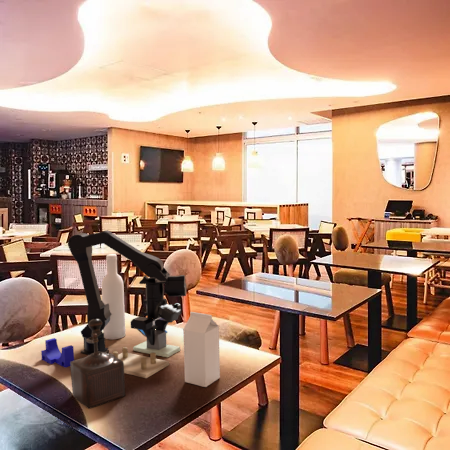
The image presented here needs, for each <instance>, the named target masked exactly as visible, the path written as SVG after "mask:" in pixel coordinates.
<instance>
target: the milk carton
mask: <svg viewBox="0 0 450 450" xmlns="http://www.w3.org/2000/svg"><path fill="white" fill-rule="evenodd" d="M182 329H183V334H182V335H183V358H184V359H183V360H184V361H183V365H184V367H183V369H184V382H185V383H188V384H192V385H195V386H199V387H203V388H207V387H208V386H210V385H211V384H213V383H215V382H216V381H218V379H220V378H221V369H220V368H221V366H220V359H221V358H220V326H219V325H218V324H217V322H215V320H213V315H212V314H207V313H201V312H195V311H190V316H189V318H188V320H187V322H186V323H185V324H184V327H183V328H182Z"/></svg>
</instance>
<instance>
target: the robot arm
mask: <svg viewBox="0 0 450 450" xmlns="http://www.w3.org/2000/svg"><path fill="white" fill-rule="evenodd" d="M102 244H103V245H105V246H107V247H108V248H109V249H111V250H113V251H114V252H116V253H118V254H119V255H121V256H123V257H124V258H126V259H127V260H129V261H130V262H132V263H133V264H135V266H136V267H137V268H138V269H139V270H140V271H141V272H142V273H143V274H145V275H144V276H143V277H142V279H141V280H139V282H138V283H139V284H140V285H145V298H146V299H143V304H144V305H145V306H146V311H144V312H143V316H138V317H135V318H133V319H131V320H130V329H135V330H138V329H139V330H143V332H144V333H145V335H146V336H145V335H144V336H145V337H146V340H147V339H148V340H149V342H150V344H151V345H154V341H155V329H156V330H160V331H165V330H166V328H167V326H168V325H169V323H170V324H171V323H174V322H175V321H177V320H178V318H179V316H180V315H181V314H182V306H181V304H180V303H178V302H176V303H174V304H168V299H167V298H165V297H164V294H166V295H167V296H168V297H187V283H186V275H185V274H180V275H171V274H170V273H169V271H167V270H166V267H164V262H163V260H162V259H161V258H159V257H158V256H155V255H152V254H148V253H145V252H143V251H141V250H139V249H138V248H136V247H134V246H133V245H131V244H129V242H127V241H125V240H123V239H122V238H120V237H118V236H117V235H115V234H114V233H112V232H111V230H108V229H107V230H103V231H101V232H96V233H95V232H94V233H91V234H90V233H89V234H88V233H85V232H80V233H77V234H73V235H72V236H71V237H70V238H69V239H68V241H67V247H68V249H69V251H70V253H71V255H72V257H73V259H74V260H75V261H76V263H77V265H78V269H79V274H80V279H81V283H82V286H83V290H84V295H85V298H86V303H87V310H86V311H87V312H86V313H87V314H86V321H87V322H86V323H87V324H86V326H85V327H84V328H82V329H81V330H80V334H81V336H82V338H83V350H80V354H85V355H87V356H88V355H90V354H92V353H94V343H88V342H86V339H88V338H90V337H92V336H91V335H92V330H91V329H90V328H89V326H88V324H89V321H91V320H92V319H100V320H101V321H102V326H101V328H100V332H101V333H102V334H101V335H99V336H98V337H97V339H98V342H97V344H98V351H100V352H107V350H109V348H108V347H106V338H104V333H103V329H104V327H105V326H106V325H107V324H108V323H109V321H110V316H111V315H112V314H111V312H110V310H109V304H104V303H103V301H102V295H101V293H100V289H99V285H98V281H97V276H96V272H95V269H94V268H95V267H94V264H93V260H92V257H93V247H94V246H97V245H102ZM144 316H145V317H144ZM139 330H138V331H139ZM92 340H93V339H92Z"/></svg>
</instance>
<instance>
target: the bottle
mask: <svg viewBox="0 0 450 450" xmlns="http://www.w3.org/2000/svg"><path fill="white" fill-rule="evenodd" d="M105 260H106V275H105V276H104V277H103V278H102V281H101V300H102V301H103V303H104V304H109V310H110V312H111V314H112V315H111V316H110V321H109V323H108V324H107V325H106V326H105V327H104V329H103V330H102V332H103V333H104V338H105V340H118V339H119V340H120V339H122V338H124V337H125V336H126V315H125V314H126V313H125V312H126V311H125V292H124V290H125V289H124V288H125V287H124V284H125V283H124V280H123V277H122V276H121V275H120V274H118V256H117V254H115V253H110V254H109V253H108V254H106V257H105Z"/></svg>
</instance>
